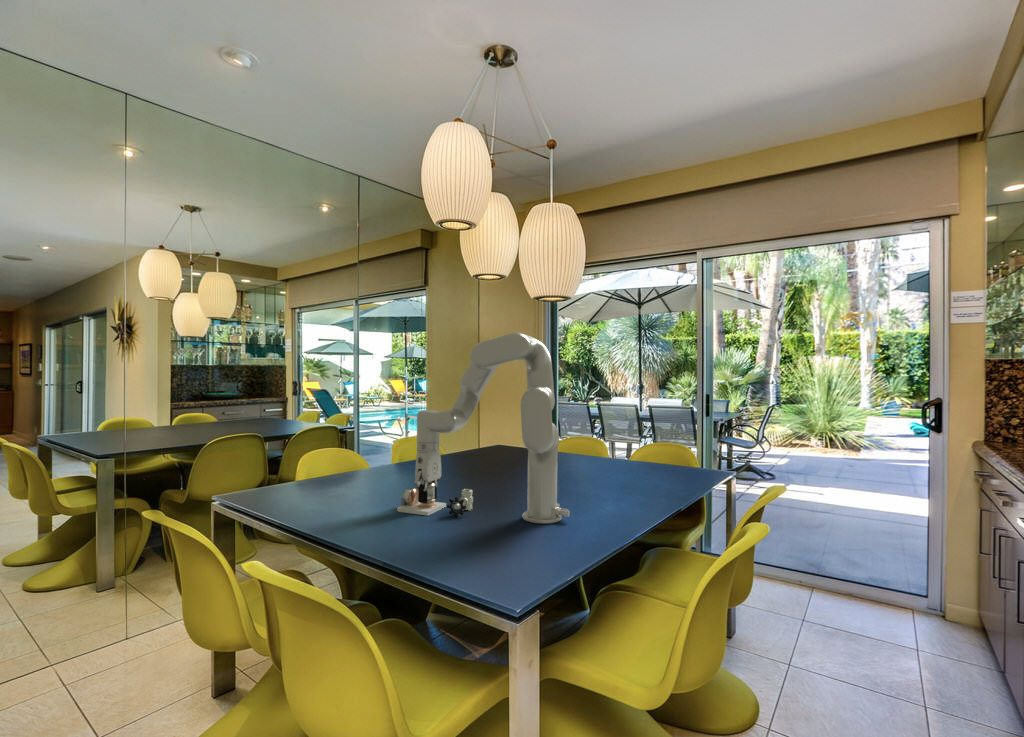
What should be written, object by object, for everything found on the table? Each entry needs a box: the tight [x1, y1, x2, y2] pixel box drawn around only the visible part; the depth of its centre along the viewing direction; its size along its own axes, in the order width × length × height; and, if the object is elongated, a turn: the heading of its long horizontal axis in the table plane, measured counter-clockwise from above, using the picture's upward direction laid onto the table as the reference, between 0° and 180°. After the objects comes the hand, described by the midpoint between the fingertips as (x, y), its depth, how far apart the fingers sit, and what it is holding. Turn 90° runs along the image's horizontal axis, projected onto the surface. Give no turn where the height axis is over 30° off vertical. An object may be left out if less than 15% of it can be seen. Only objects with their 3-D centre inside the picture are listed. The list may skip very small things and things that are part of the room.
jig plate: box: [396, 501, 447, 517], centre depth 170 cm, size 12×12×1 cm
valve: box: [446, 488, 474, 518], centre depth 167 cm, size 7×7×12 cm
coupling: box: [420, 482, 436, 504], centre depth 170 cm, size 5×5×6 cm
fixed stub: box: [400, 488, 418, 506], centre depth 172 cm, size 4×6×7 cm, turn 158°
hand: (427, 499), depth 170 cm, fingers closed on coupling, 5 cm apart
